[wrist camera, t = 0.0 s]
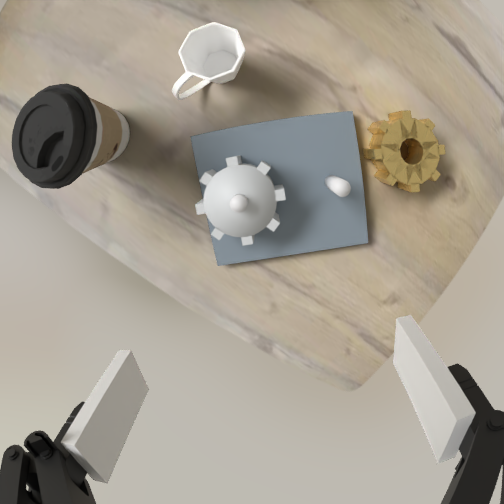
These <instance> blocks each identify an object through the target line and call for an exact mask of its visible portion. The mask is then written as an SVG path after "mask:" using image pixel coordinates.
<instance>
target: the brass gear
mask: <svg viewBox="0 0 504 504" xmlns="http://www.w3.org/2000/svg"><path fill="white" fill-rule="evenodd" d="M389 120H390V121H385V120H383V121H378V122H373V123H372V124H371V125H370V127H369V128H368V130H369V131H370V132H371V133H372V134H373V136H372V139H371V142H370V144H369V146H370V148H367V149H363V152H364V158H368V159H371V160H372V162H373V164H374V165H375V166H376V168H377V169H378V171H377V172H376V174H375V175H374V176H375V177H376V178H377V179H378V180H379V181H380V182H383V183H386V184H389V185H391V186H393V185H394V184H395V183H396V181H397V184H398V188H401V189H404V190H406V191H409V192H420V186H419V184H422V183H424V182H425V181H426V180H427V179H428V180H432V181H436V180H437V179H438V178H439V176H440V175H441V174H440V173H439V172H438V171H437V170H436V167H437V165H438V162H439V159H440V155H441V154H445V146H444V145H439V144H438V140H437V139H436V137H435V136H434V134H433V132H432V130H433V128H434V127H435V124H434V123H433V122H432V121H431V120H430V119H422V120H417V119H415V118H412V117H411V111H399V112H395V113H390V114H389ZM403 141H405V143H406V144H407V146H408V152H409V153H408V156H407V158H406V159H405V160H403V158H402V157H401V153H400V147H401V144H402V142H403Z"/></svg>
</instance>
